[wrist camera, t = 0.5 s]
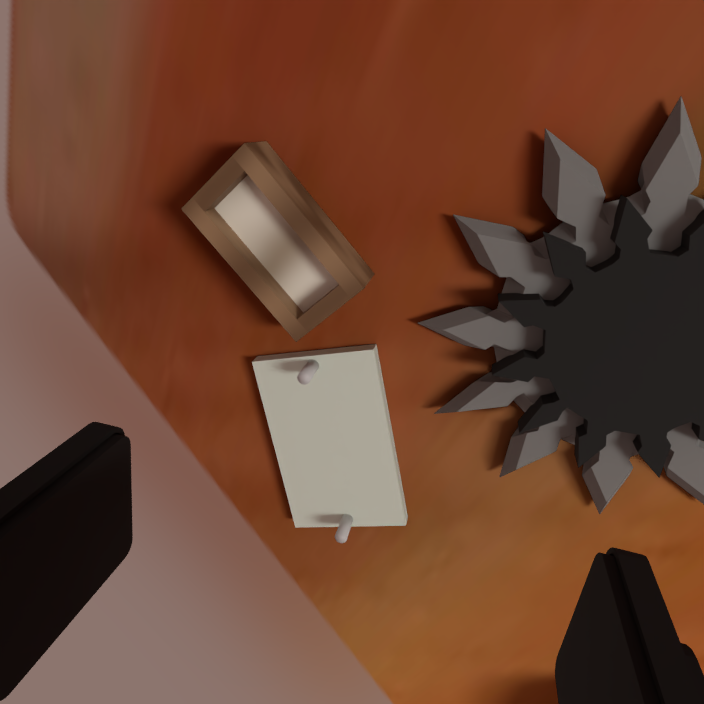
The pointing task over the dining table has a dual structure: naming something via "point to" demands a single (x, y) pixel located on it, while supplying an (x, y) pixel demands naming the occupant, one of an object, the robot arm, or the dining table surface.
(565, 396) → the decorative piece
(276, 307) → the frame
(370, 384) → the panel
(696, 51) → the dining table surface
